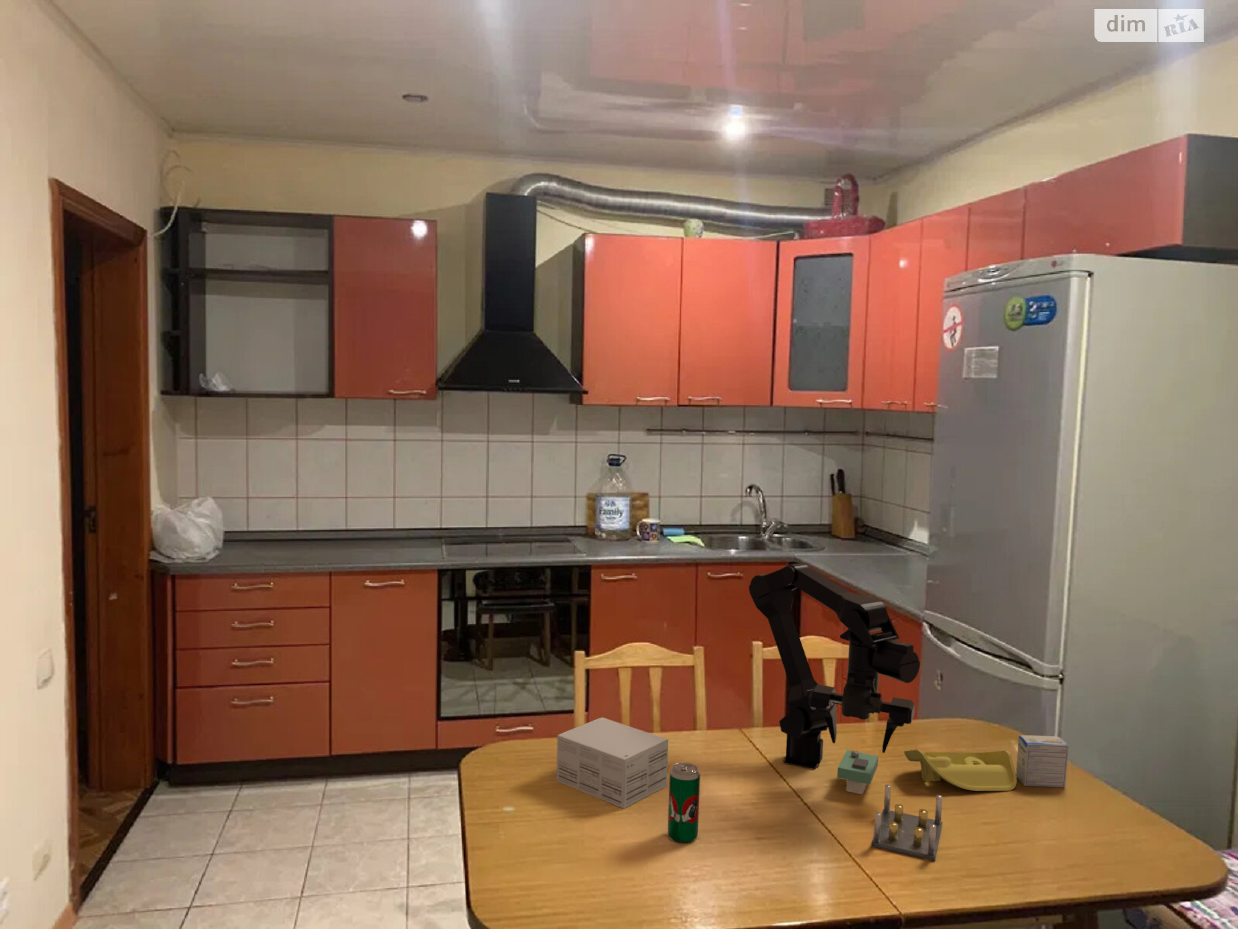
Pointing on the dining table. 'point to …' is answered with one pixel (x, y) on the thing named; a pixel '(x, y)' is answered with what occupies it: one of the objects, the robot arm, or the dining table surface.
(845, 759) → the board
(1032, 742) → the medicine box
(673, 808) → the soda can
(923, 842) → the chassis
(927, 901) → the dining table surface
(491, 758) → the dining table surface
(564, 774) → the supplement box
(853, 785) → the white rectangular block
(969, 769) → the plastic component
